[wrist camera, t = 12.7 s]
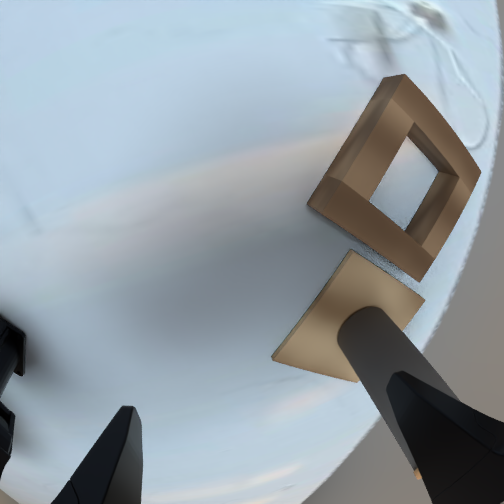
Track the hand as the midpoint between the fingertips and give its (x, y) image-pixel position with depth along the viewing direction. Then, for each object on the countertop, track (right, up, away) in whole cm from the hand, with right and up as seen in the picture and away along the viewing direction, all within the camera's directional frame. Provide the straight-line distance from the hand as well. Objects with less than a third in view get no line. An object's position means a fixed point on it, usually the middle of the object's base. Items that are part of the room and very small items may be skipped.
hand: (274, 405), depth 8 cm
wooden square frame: (+10, +10, +11) cm, 18 cm away
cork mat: (+8, -2, +15) cm, 18 cm away
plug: (+9, -2, +15) cm, 18 cm away
